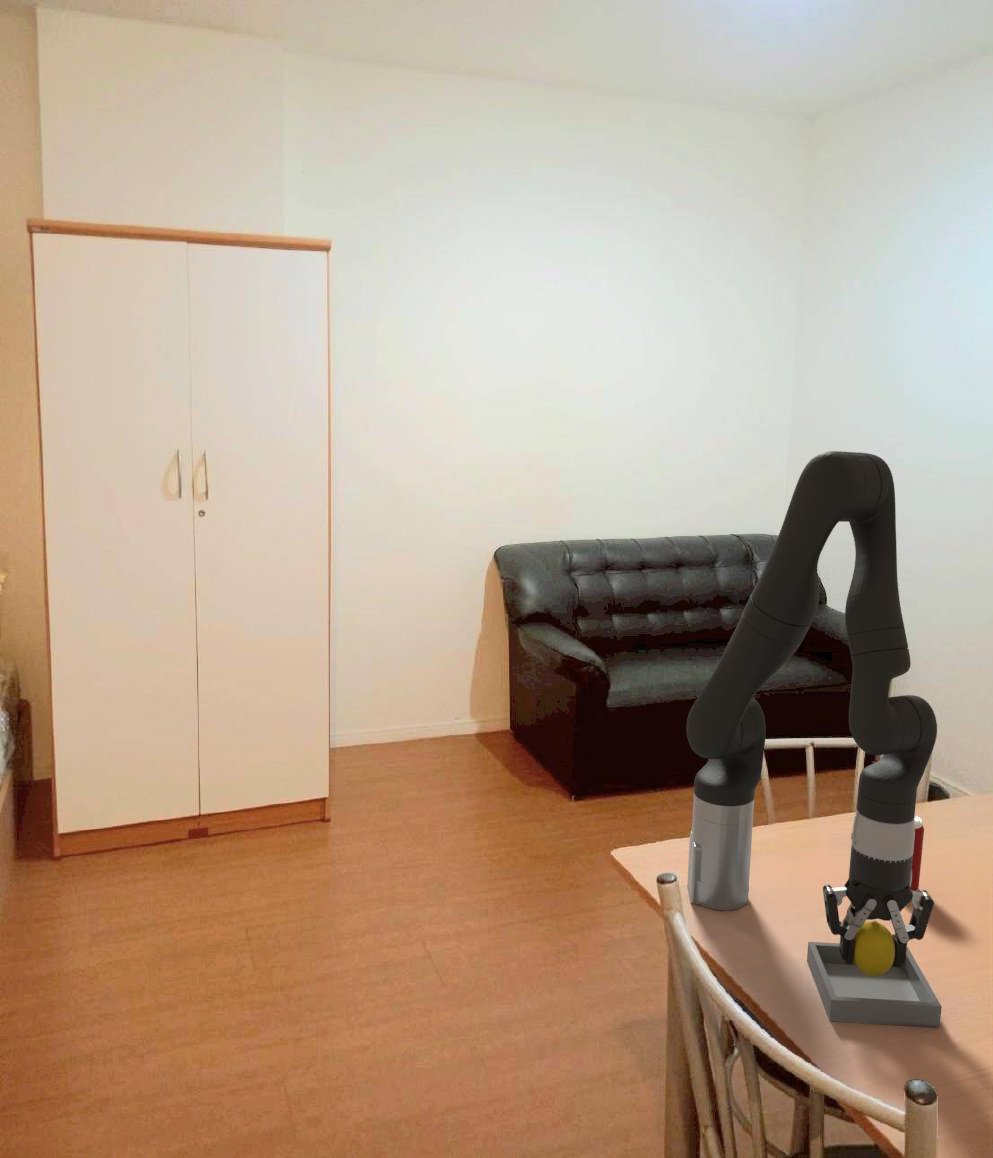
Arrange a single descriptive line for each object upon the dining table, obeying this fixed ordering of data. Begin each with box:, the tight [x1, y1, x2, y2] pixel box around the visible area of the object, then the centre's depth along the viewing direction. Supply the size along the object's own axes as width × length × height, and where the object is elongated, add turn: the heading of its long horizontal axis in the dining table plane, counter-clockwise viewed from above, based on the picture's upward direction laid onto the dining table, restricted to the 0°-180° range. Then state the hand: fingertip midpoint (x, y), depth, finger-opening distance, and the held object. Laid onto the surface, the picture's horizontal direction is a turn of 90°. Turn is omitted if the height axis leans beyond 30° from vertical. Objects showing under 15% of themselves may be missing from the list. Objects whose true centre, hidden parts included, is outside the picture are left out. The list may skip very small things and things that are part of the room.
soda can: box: [910, 815, 925, 892], centre depth 160 cm, size 5×5×12 cm
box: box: [806, 941, 943, 1029], centre depth 133 cm, size 14×14×3 cm
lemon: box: [853, 920, 895, 977], centre depth 132 cm, size 6×6×8 cm
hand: (871, 962), depth 132 cm, fingers closed on lemon, 5 cm apart
